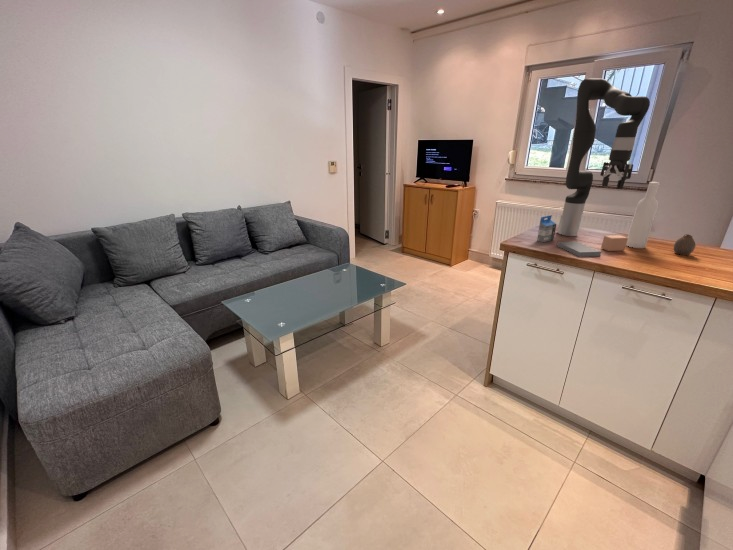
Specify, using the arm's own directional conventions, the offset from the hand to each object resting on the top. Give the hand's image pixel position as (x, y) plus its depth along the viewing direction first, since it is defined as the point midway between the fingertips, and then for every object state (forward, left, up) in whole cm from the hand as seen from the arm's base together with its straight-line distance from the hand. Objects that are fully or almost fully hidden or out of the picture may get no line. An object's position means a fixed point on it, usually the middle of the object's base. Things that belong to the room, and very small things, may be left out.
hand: (611, 187), depth 149 cm
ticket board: (+4, -12, -28) cm, 31 cm away
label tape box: (-14, -17, -28) cm, 36 cm away
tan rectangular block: (+4, +5, -28) cm, 29 cm away
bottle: (0, +20, -28) cm, 35 cm away
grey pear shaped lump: (+13, +31, -28) cm, 44 cm away
